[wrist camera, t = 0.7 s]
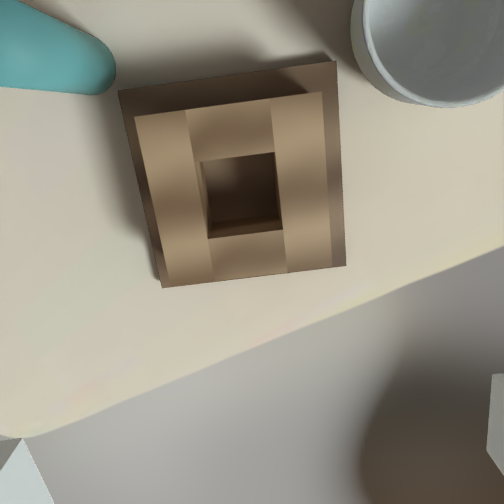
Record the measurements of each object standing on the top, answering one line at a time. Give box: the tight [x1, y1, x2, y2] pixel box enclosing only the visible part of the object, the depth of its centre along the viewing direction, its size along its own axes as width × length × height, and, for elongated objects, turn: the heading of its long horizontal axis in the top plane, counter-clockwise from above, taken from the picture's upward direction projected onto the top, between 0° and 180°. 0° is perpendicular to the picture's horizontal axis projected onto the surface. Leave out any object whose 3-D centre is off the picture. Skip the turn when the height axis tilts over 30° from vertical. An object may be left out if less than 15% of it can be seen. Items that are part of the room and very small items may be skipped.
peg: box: [0, 0, 116, 95], centre depth 23 cm, size 4×4×12 cm
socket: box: [118, 61, 346, 288], centre depth 29 cm, size 16×16×6 cm
